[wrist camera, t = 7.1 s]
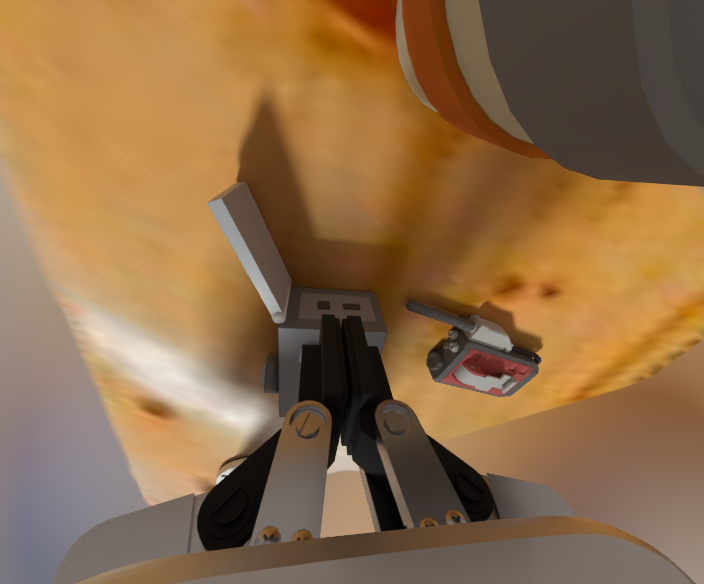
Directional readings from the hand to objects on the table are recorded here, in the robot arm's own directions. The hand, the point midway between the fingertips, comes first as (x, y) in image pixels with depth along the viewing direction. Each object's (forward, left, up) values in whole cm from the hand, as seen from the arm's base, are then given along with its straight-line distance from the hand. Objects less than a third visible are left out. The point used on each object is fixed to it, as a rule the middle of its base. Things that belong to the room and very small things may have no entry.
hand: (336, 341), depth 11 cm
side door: (0, +5, -11) cm, 12 cm away
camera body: (-10, -1, -11) cm, 15 cm away
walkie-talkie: (-11, -16, -12) cm, 23 cm away
